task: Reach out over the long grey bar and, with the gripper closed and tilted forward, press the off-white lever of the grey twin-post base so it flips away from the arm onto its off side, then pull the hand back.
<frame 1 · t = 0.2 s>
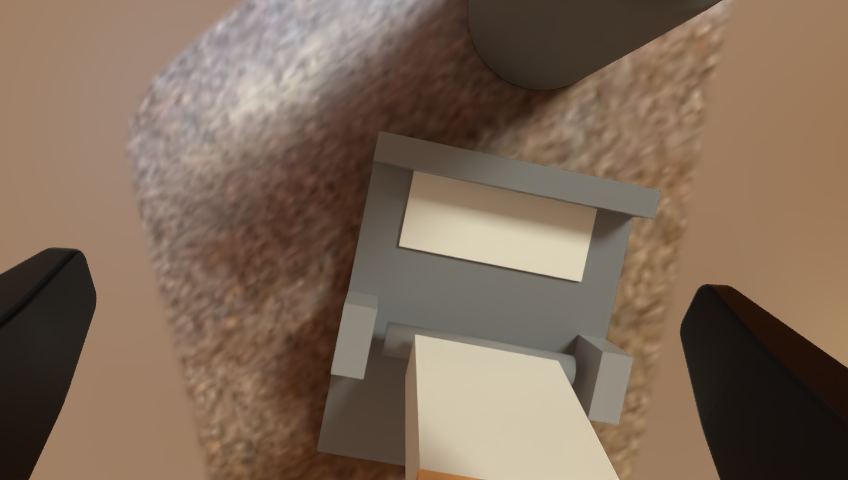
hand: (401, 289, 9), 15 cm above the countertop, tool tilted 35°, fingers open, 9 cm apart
bottle: (539, 16, 24), on the countertop
grey twin-post base: (468, 338, 25), on the countertop
lever: (497, 430, 18), point 7 cm above the countertop, hinge at -12.0°
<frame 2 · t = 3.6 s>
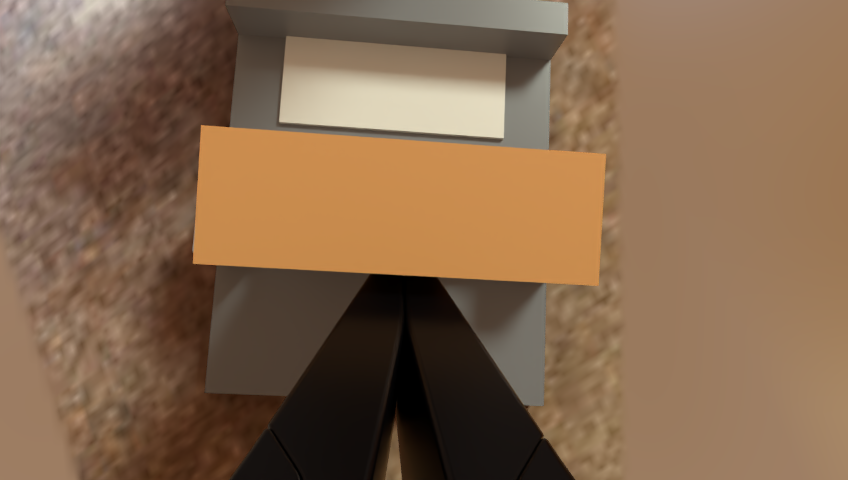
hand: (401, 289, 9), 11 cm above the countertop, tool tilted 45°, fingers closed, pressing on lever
grey twin-post base: (386, 237, 20), on the countertop
lever: (392, 220, 13), point 7 cm above the countertop, hinge at -7.8°, touching gripper
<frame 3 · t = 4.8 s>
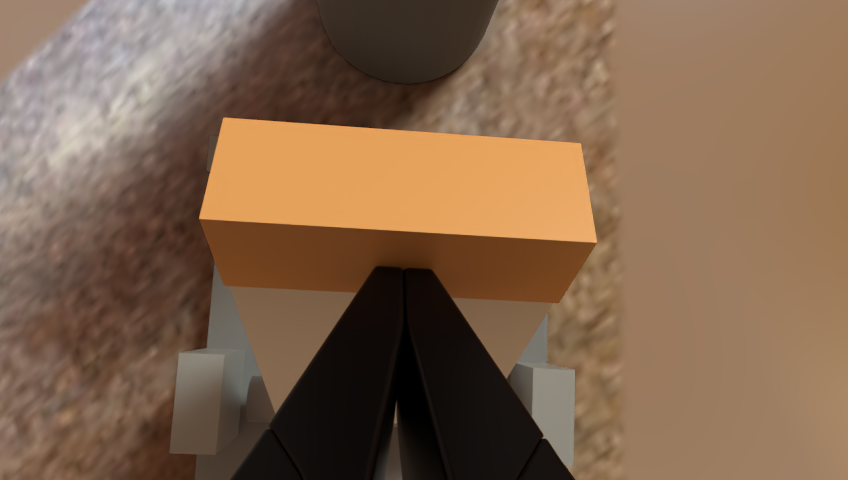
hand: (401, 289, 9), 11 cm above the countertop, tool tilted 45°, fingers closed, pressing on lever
bottle: (404, 6, 21), on the countertop
grey twin-post base: (377, 392, 19), on the countertop
lever: (386, 334, 13), point 7 cm above the countertop, hinge at 24.5°, touching gripper
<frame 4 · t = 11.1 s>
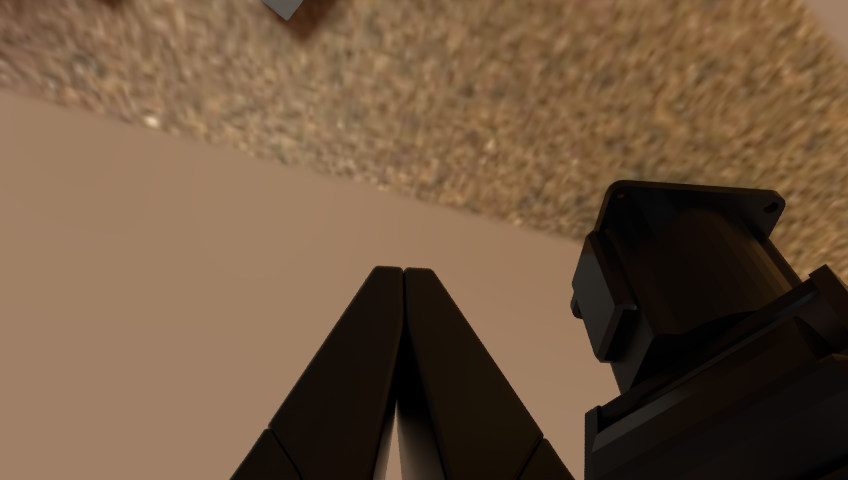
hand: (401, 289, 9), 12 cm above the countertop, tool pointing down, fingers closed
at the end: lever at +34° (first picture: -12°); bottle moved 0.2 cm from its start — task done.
